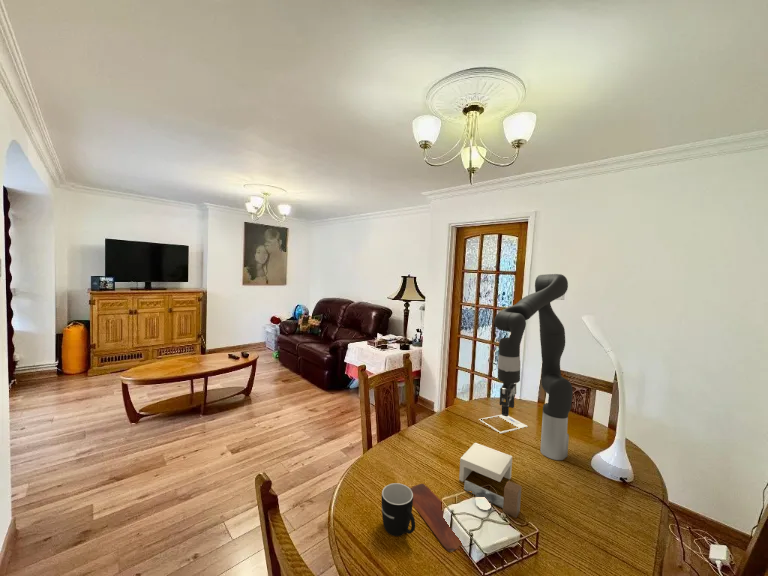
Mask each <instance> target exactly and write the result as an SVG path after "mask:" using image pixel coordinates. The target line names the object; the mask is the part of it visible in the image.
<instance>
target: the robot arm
mask: <svg viewBox="0 0 768 576" xmlns="http://www.w3.org/2000/svg"><path fill="white" fill-rule="evenodd" d="M568 288H569V282H568V279H567V277H566V276H565V275H564V274H561V273H560V274H559V273H554V274H553V273H552V274H551V273H549V274H540V275H538V276H537V277H536V278H535V282H534V291H535V292H533V293H531V294H528V295H526V296H524V297H522V298H521V299H520V300H519V301H517V302H516V303H515V304H514V305H511V306H509V307H506V308H504V309H502V310H500V311H499V312H497V314H496V315H495V317H494V320H493V322H494V323H493V324H494V326H495V328H496V329H497V330H499V331H503V332H508V333H510V335H509V337H501V338H500V339H499V343H498V359H497V379H498V380H499V381H500V382H502V383H503V385H501V387H500V388H499V405H500V406H501V414H502V415H503V416H510V415H509V414H510V412H509V411H510V409H509V408H511V409H514V408H515V398H516V395H517V383H519V382H521V356H520V355H521V353H520V352H521V343H522V339H523V335H524V333H525V329H526V326H527V321H528V320H529V319H531V317H533V316H534V315H535V314H536V313H538V319H539V320H538V324H539V340H540V352H541V353H540V354H541V379H540V380H541V382H540V383H541V387H542V388H543V391H544V392H545V393H546V394H548V397H547V398H548V400H547V403H544V404H543V407H542V421H541V432H540V433H541V436H540V438H541V439H540V453H541V454H542V455H543V456H544V457H546V458H548V459H551V460H555V461H563V460H565V459H566V458H568V451H569V440H570V438H569V437H570V436H569V433H568V422H569V421H568V420H569V413H570V412H571V410H572V401H573V394H574V393H573V392H574V391H573V386H572V383H571V382H570V380H568V379H566V378H565V377H563V375H562V372H561V371H562V370H561V358H562V356H563V353H564V351H565V347H566V331H565V326H564V324H563V323H562V322H561V319H560V318H559V317H558V316H557V315H556V313H555V311H554V309H553V308H552V305H551V303H552V302H554V301H555V300H558V299H559V298H561V297H563V296H564V295H565V294H566V293H567V292H568ZM504 400H505V401H504Z"/></svg>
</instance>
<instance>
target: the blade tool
mask: <svg viewBox="0 0 768 576" xmlns="http://www.w3.org/2000/svg"><path fill="white" fill-rule="evenodd" d="M463 485H464V486H463V490H464V491H465V492H466V491H467V492H468V491H472V493H471V495H472V494H473V495H474V496H476V494H477V493H479V492H482V493H486V494H488V495H489V496H490V497H491V498H492V505H495V506H497V507H500V508H501V509H502V512H503V513H504V512H505V514H507V515H508V516H510V517H512V518H515V519H517V518H518V516H519V514H520V512H521V503H522V502H521V500H522V499H521V498H522V485H520V484H518V483H515V482H512V481H510V480H507V482H506V484H505V486H504V488H503V489H504V490H503V496H502V495H499V494H497V493H495V492H493V491H491V490H489V489H486V488H484V487H482V486H479V485H477V484H476V483H473V482H471V481H469V480H466V479H465V480H464V484H463Z"/></svg>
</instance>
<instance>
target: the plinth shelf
mask: <svg viewBox="0 0 768 576" xmlns="http://www.w3.org/2000/svg"><path fill="white" fill-rule="evenodd" d="M459 459H460V460H459V474H458V475H459V478H458V480H459V481H461V482H465V480H466V479H467V478H468V477H469V475H470V474H471V473H472V472H475V473H477V474H480V475H482V476H484V477H487V478H489V479H492V480H494V481H497V482H498V483H501V481H502V480H503V478H505V479H508V480H511V479H512V471H513V470H512V468H513V456H512V455H511V454H508V453H505V452H502V451H499V450H496V449H494V448H491V447H488V446H486V445H484V444H479V443H477V442H474V443H473V444H472V445H471V446H470V447H469V448H468V450H466V451H465V452H464V453H463V455H461V457H460V458H459Z"/></svg>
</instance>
